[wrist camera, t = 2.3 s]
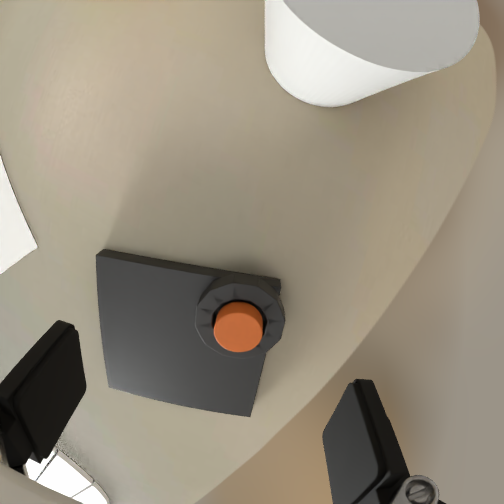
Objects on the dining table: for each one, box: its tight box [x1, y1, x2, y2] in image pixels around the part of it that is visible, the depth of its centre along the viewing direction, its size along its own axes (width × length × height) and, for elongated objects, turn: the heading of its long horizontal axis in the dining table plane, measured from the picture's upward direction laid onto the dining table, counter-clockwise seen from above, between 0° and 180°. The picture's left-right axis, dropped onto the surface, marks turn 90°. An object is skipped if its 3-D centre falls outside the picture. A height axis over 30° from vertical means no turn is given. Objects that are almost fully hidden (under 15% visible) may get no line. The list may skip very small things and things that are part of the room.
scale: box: [96, 249, 285, 417], centre depth 24 cm, size 15×15×3 cm
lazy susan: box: [26, 446, 110, 504], centre depth 38 cm, size 40×39×3 cm
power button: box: [214, 302, 263, 352], centre depth 21 cm, size 3×3×2 cm
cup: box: [265, 0, 479, 107], centre depth 12 cm, size 8×8×12 cm
